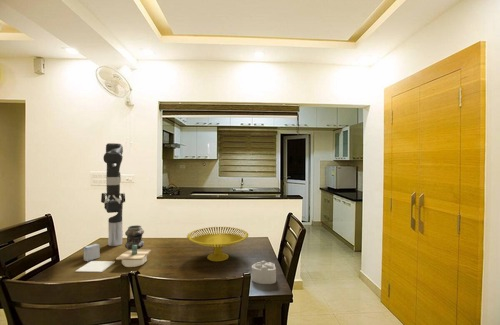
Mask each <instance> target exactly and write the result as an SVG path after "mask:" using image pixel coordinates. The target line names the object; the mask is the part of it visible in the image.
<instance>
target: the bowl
mask: <svg viewBox="0 0 500 325" xmlns="http://www.w3.org/2000/svg"><path fill="white" fill-rule="evenodd" d="M147 256H148V254H147V255H146V256H145V257H144V258H143V259H142V260H121V265H123V266H124V267H126V268H136V267H139V266H142V265H144V264H146V262H147V261H148V258H147Z"/></svg>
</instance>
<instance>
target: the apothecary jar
mask: <svg viewBox="0 0 500 325" xmlns="http://www.w3.org/2000/svg"><path fill="white" fill-rule="evenodd" d="M144 234H145V230H144V229H143V228H142V225H139V224H135V225H129V226H128V227H127V230H126V231H125V236H126V242H125V244H124V248H125V249H126V250H128V249H132V246H133V245H137V249H140V250H141V249H142V248H143V247H144V245H145V242H144V240H143V235H144Z"/></svg>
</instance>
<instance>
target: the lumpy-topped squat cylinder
mask: <svg viewBox="0 0 500 325" xmlns="http://www.w3.org/2000/svg"><path fill="white" fill-rule="evenodd" d="M275 264H276V263H273V262H271V261H270V262H267V261H266V260H261V261H258V262H256V263H254V264H252V265H251V277H250V278H251V281H252V282H254V283H256V284H260V285H272V284H273V285H274V284H275V283H276V282H277V267H276V265H275Z"/></svg>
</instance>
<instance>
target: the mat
mask: <svg viewBox="0 0 500 325" xmlns="http://www.w3.org/2000/svg"><path fill="white" fill-rule="evenodd" d="M115 262H116V261H115V260H114V261H112V260H111V261H107V260H91V261H88V262H87V263H86V264H84V265H83V266H81V267H79V268H78V269H76V270H75V273H103V272H104V271H105V270H107V269H109V268H110V267H112V266H113V265H114V264H115Z"/></svg>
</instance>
